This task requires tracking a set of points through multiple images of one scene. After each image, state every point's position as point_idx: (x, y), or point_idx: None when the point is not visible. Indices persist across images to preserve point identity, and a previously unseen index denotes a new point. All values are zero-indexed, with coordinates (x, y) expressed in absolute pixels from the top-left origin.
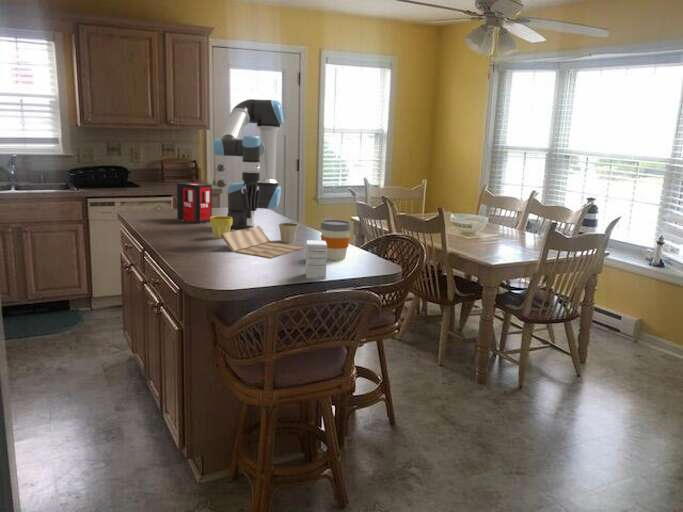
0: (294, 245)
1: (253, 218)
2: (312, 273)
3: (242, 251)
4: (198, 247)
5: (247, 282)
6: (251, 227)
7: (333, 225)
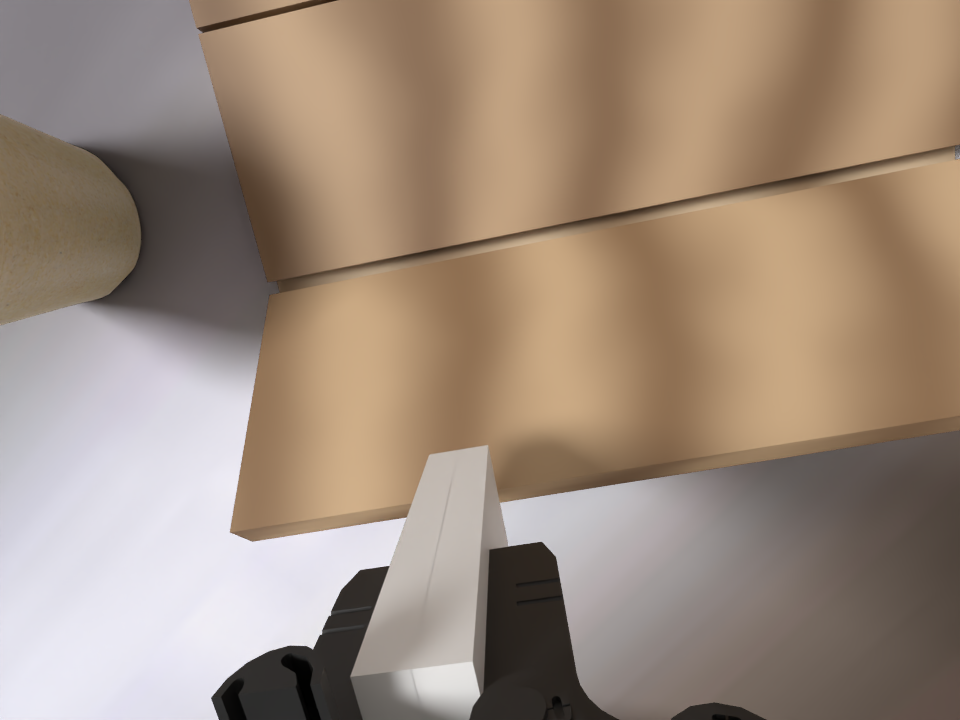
0: None
1: (420, 523)
2: None
3: (933, 69)
4: (930, 614)
5: None
6: None
7: None
